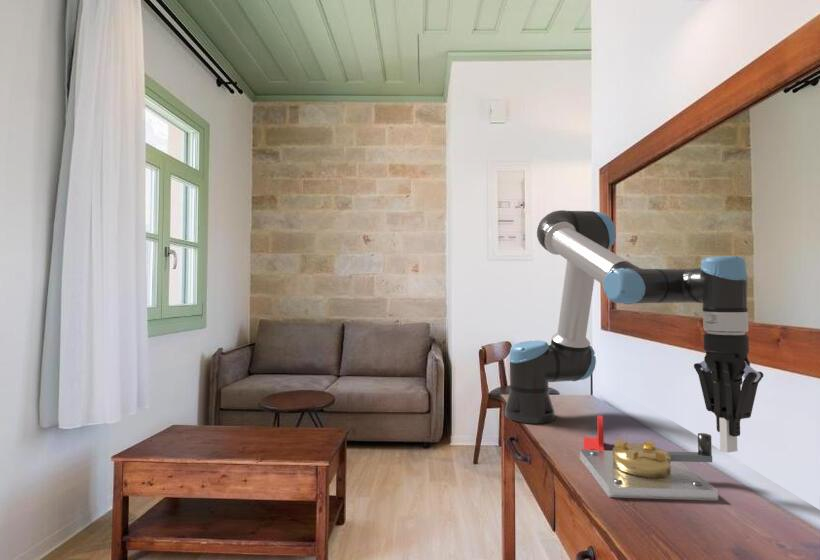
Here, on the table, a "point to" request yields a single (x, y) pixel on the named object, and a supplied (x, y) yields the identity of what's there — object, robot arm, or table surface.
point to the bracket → (596, 442)
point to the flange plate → (647, 480)
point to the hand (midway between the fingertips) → (728, 450)
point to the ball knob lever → (656, 457)
